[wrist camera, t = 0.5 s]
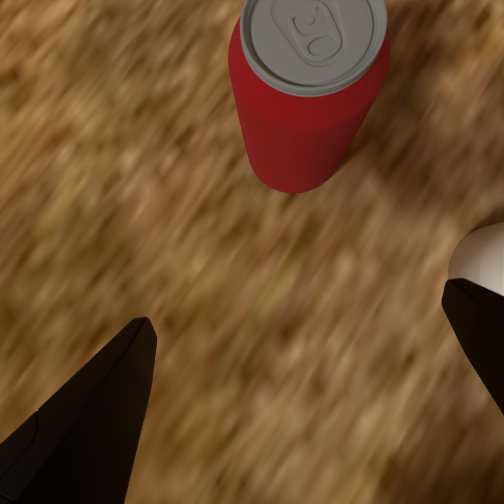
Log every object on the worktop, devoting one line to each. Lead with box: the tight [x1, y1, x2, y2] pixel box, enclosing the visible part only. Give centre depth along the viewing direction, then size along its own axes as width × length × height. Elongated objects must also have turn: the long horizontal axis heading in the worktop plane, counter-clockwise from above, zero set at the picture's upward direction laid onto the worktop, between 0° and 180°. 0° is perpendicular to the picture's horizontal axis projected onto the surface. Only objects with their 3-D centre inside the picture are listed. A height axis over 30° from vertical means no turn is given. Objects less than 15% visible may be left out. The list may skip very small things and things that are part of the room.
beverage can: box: [228, 0, 390, 193], centre depth 17 cm, size 7×7×12 cm
